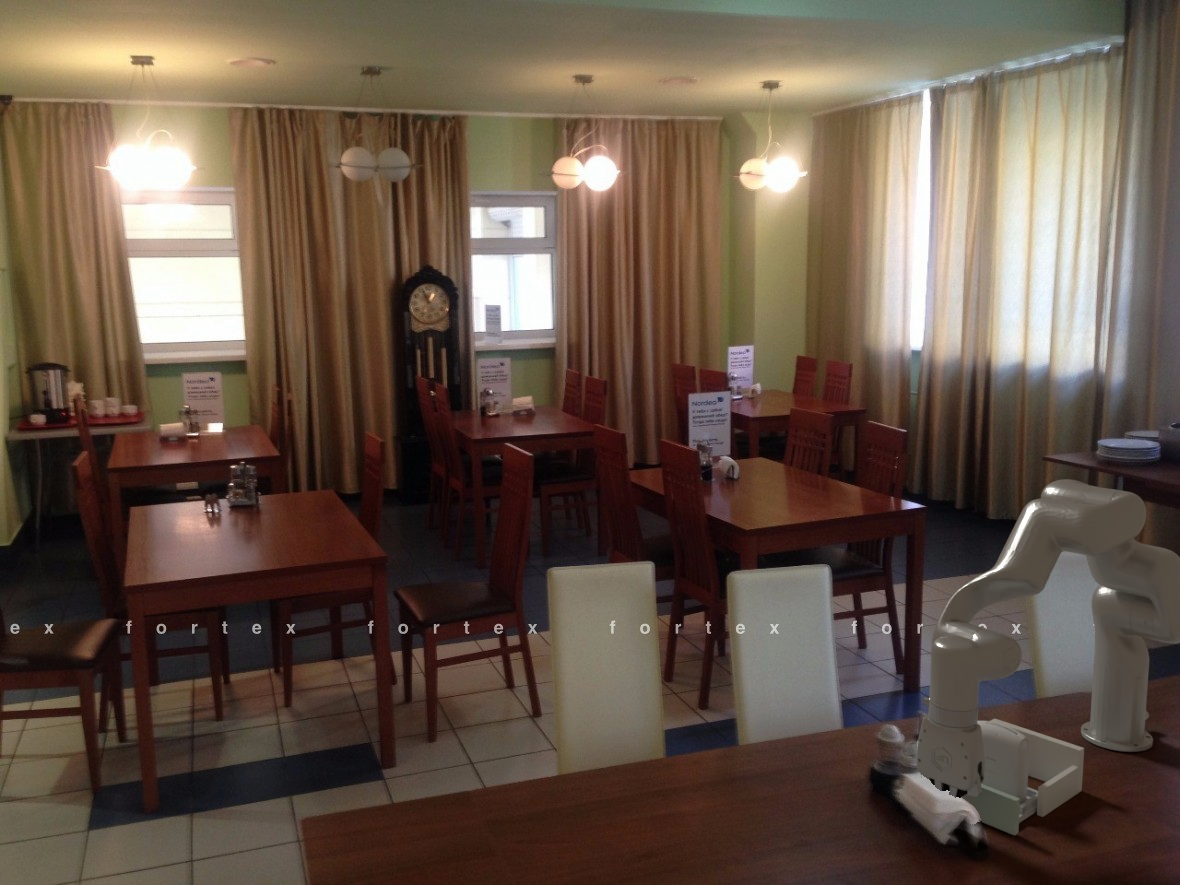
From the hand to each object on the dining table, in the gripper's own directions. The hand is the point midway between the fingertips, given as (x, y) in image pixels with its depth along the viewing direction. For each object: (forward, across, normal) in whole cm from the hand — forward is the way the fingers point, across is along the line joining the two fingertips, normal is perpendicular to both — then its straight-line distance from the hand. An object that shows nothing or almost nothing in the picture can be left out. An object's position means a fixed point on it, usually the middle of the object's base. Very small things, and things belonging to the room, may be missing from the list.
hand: (948, 818), depth 169 cm
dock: (+2, 0, +22) cm, 22 cm away
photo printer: (+1, 0, +15) cm, 15 cm away
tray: (+1, 0, +12) cm, 12 cm away
